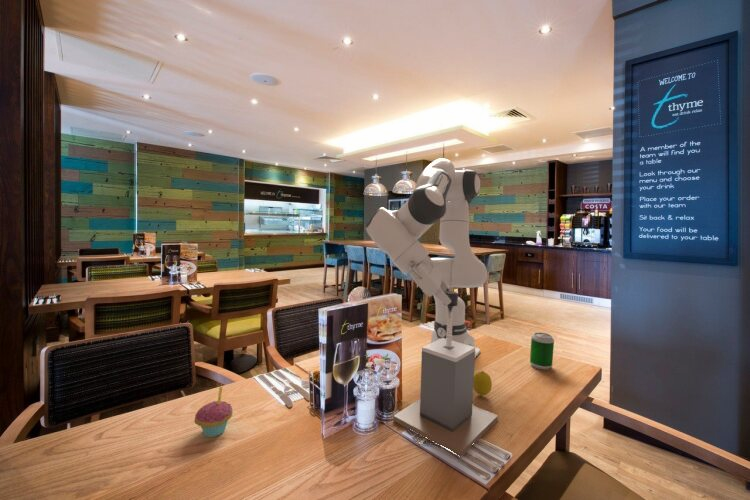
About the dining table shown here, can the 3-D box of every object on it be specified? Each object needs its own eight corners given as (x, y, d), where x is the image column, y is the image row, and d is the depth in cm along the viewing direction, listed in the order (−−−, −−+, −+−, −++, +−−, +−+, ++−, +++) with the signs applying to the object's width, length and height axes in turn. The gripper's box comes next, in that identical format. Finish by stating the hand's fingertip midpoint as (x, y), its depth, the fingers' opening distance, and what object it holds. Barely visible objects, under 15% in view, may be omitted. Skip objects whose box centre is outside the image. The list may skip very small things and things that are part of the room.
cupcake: (225, 417, 91) (224, 374, 90) (238, 432, 85) (237, 386, 84) (190, 431, 85) (188, 385, 84) (202, 447, 79) (200, 398, 78)
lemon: (492, 402, 102) (493, 376, 101) (472, 399, 103) (474, 374, 102) (489, 392, 107) (491, 368, 106) (471, 390, 108) (472, 366, 107)
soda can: (556, 371, 123) (558, 339, 122) (535, 370, 123) (537, 338, 122) (545, 362, 131) (548, 331, 129) (526, 361, 131) (528, 331, 130)
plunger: (442, 373, 96) (445, 288, 94) (467, 382, 91) (471, 293, 88) (427, 382, 90) (430, 292, 88) (452, 392, 85) (456, 297, 83)
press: (434, 393, 106) (437, 329, 104) (497, 420, 92) (501, 347, 90) (393, 421, 91) (395, 346, 89) (460, 457, 78) (464, 371, 76)
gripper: (417, 255, 79) (459, 300, 78) (425, 248, 99) (458, 283, 98) (398, 273, 80) (438, 317, 79) (409, 262, 100) (442, 297, 99)
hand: (449, 298), depth 89 cm, fingers open, 8 cm apart
